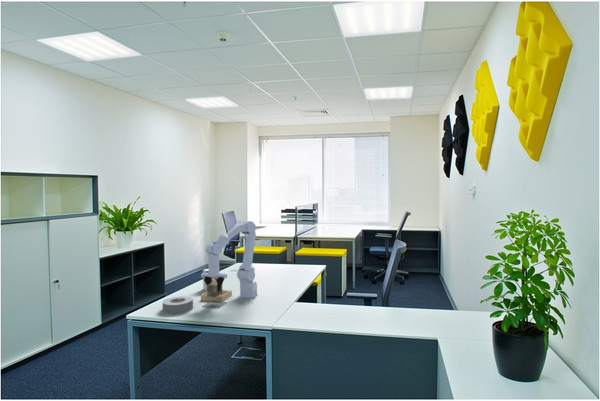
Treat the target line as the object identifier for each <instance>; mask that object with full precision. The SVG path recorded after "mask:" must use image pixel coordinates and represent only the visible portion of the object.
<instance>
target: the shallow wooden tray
mask: <svg viewBox="0 0 600 401" xmlns="http://www.w3.org/2000/svg"><path fill="white" fill-rule="evenodd" d="M232 293H233V292H232V290H226V289H222V294H220V295H219V296H217V297H207V291H205V292H204V293H201V294H200V301H201V302H210V301H215V302H226V301H227V300H228V299H229V298H231V297H232V296H233V294H232Z"/></svg>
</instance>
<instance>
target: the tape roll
mask: <svg viewBox="0 0 600 401" xmlns="http://www.w3.org/2000/svg"><path fill="white" fill-rule="evenodd" d="M193 309H194V298H192V296H191V297H190V296H187V295H185V296H184V295H183V296H182V295H181V296H173V297H169V298H166V299H164V300H163V301H162V313H163V312H164V314H166V313H168V314H167V315H179V314H178V313H180V314H184V313H188V312H190V311H192V310H193Z"/></svg>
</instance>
